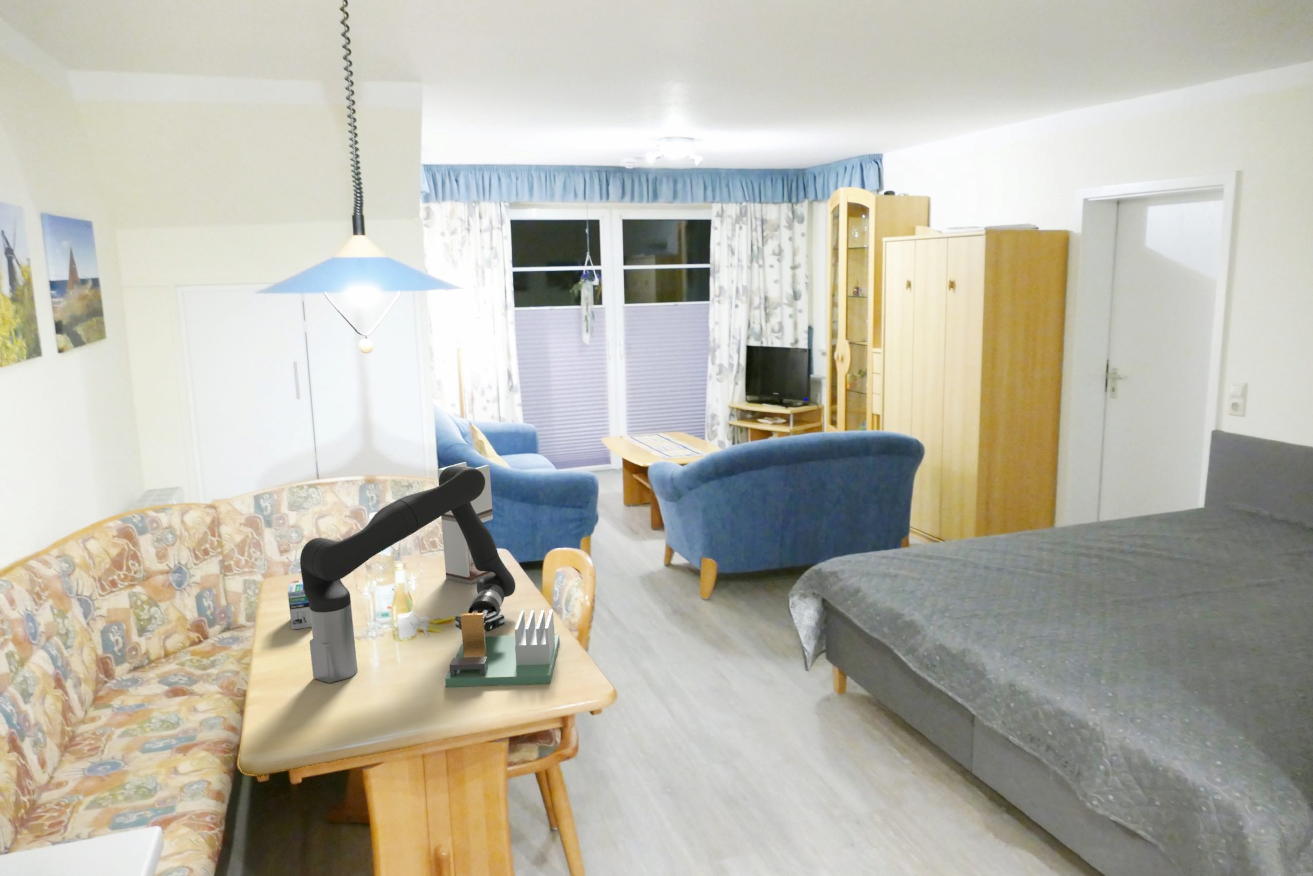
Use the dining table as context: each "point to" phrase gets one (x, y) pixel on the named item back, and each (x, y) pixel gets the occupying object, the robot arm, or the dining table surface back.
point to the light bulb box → (298, 605)
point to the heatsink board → (510, 657)
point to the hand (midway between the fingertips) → (473, 634)
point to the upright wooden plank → (473, 635)
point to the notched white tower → (454, 541)
